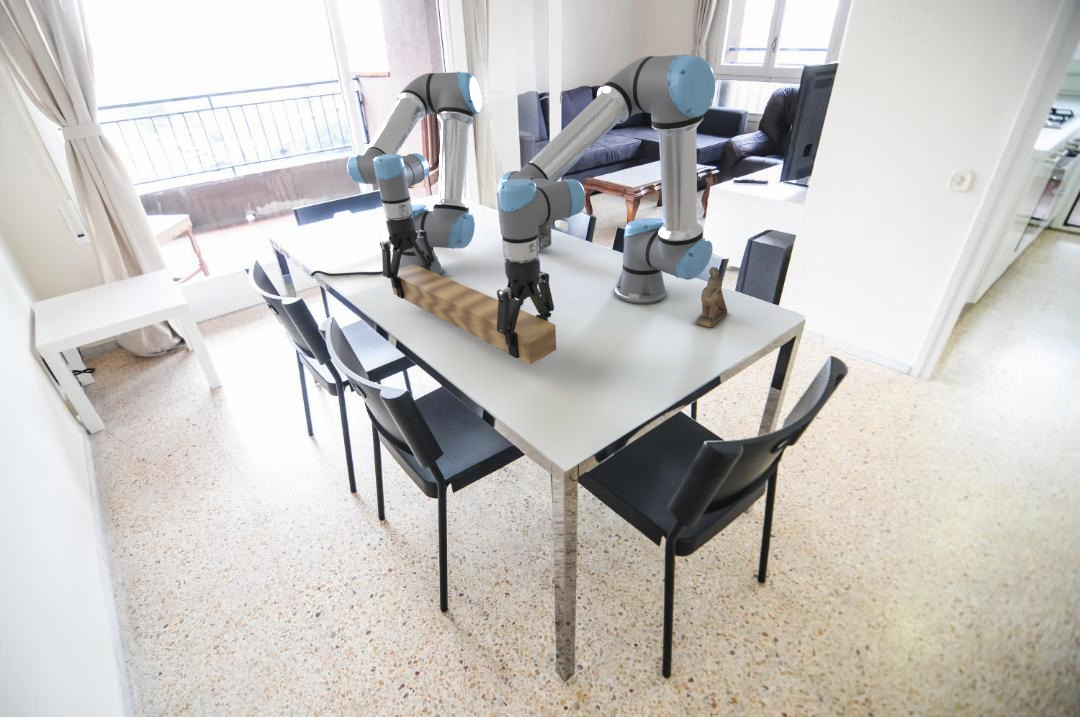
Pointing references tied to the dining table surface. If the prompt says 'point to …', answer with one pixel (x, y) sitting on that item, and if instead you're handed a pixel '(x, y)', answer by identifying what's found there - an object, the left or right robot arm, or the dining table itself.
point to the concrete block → (543, 232)
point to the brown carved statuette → (712, 301)
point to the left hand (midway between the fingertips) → (414, 291)
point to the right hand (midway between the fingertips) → (528, 347)
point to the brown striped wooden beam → (475, 312)
